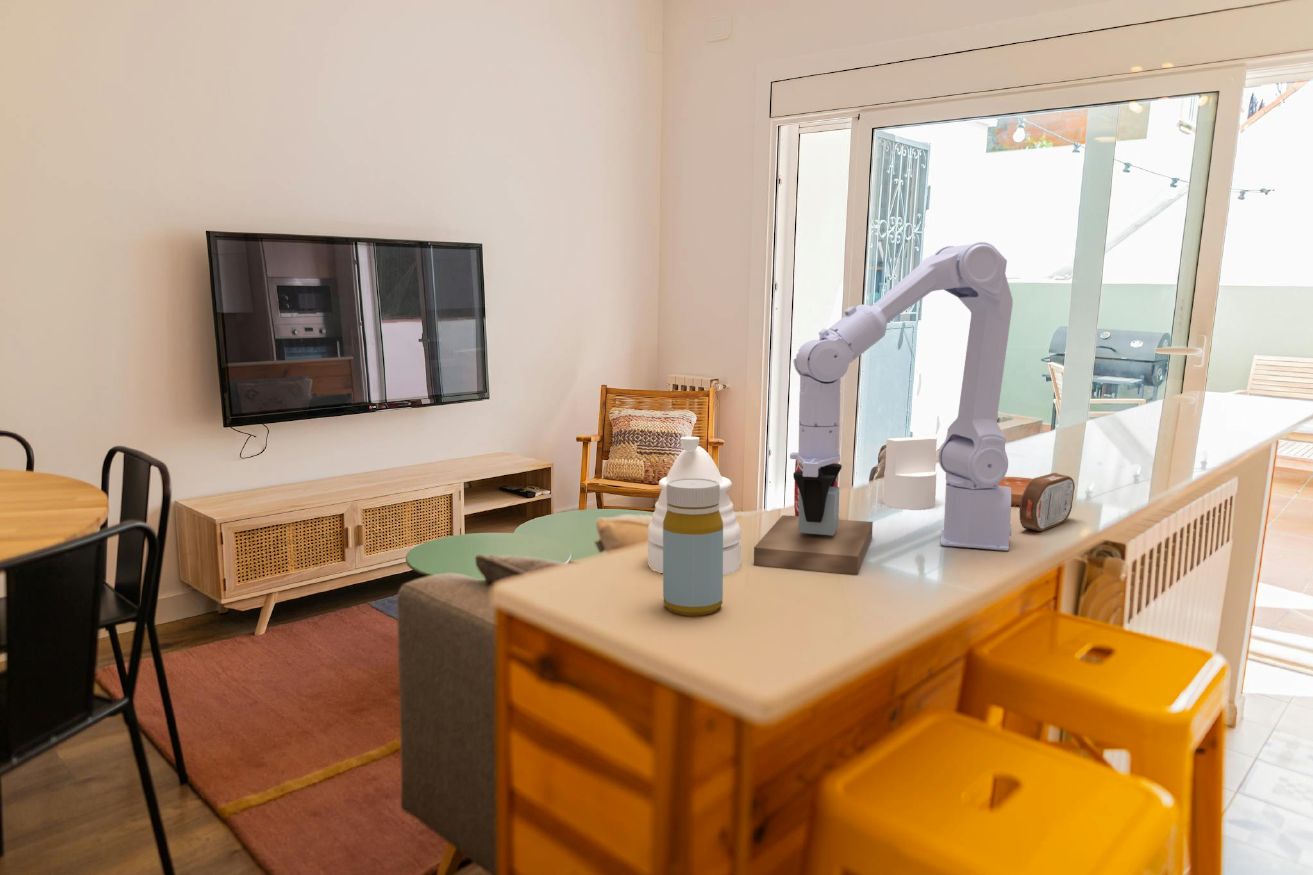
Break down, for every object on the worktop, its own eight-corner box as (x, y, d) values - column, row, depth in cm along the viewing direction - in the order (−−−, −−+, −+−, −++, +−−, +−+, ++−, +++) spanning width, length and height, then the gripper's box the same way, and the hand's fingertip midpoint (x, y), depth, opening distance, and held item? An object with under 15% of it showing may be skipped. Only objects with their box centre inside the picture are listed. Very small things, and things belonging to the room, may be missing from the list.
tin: (1056, 517, 147) (1060, 468, 145) (1075, 521, 144) (1079, 471, 143) (1015, 533, 137) (1019, 480, 135) (1035, 537, 134) (1039, 483, 133)
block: (838, 527, 128) (839, 487, 127) (833, 535, 123) (834, 494, 122) (804, 524, 130) (805, 485, 129) (798, 532, 125) (799, 491, 124)
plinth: (872, 537, 134) (872, 521, 134) (857, 574, 115) (857, 556, 115) (782, 530, 139) (782, 515, 138) (753, 565, 120) (754, 547, 120)
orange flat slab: (1084, 502, 159) (1085, 486, 159) (1033, 514, 150) (1034, 497, 150) (1006, 488, 172) (1007, 473, 172) (955, 498, 163) (955, 482, 163)
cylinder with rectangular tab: (915, 497, 163) (918, 434, 161) (945, 507, 154) (948, 440, 152) (873, 500, 160) (875, 436, 158) (902, 511, 151) (904, 443, 150)
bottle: (660, 598, 106) (660, 477, 104) (717, 596, 107) (718, 476, 105) (666, 618, 99) (666, 489, 97) (726, 616, 100) (727, 488, 98)
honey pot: (726, 582, 112) (727, 445, 110) (633, 572, 117) (632, 440, 114) (750, 556, 124) (752, 431, 122) (666, 548, 129) (665, 427, 126)
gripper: (800, 417, 132) (798, 504, 134) (781, 429, 119) (779, 526, 121) (847, 419, 130) (844, 507, 132) (833, 432, 116) (831, 530, 118)
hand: (817, 517), depth 126 cm, fingers closed on block, 5 cm apart
